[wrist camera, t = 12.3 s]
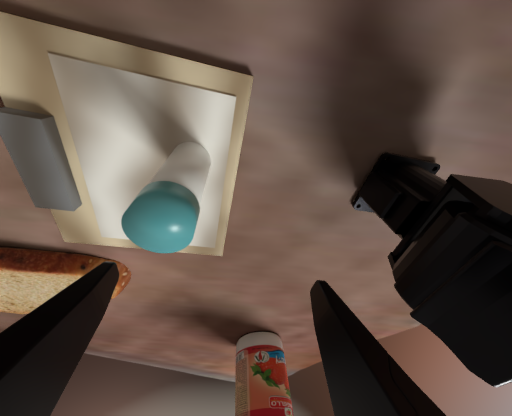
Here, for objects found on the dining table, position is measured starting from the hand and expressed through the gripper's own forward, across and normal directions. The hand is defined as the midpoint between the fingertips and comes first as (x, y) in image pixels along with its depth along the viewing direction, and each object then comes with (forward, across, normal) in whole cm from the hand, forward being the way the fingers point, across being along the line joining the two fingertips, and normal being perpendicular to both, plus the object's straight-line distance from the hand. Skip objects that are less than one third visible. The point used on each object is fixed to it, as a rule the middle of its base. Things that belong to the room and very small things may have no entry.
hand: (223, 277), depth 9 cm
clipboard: (+12, +8, +2) cm, 15 cm away
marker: (+11, +4, 0) cm, 12 cm away
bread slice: (+12, +22, +18) cm, 32 cm away
